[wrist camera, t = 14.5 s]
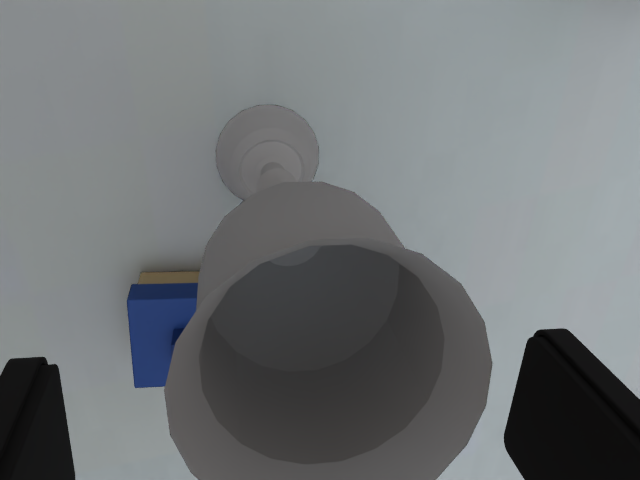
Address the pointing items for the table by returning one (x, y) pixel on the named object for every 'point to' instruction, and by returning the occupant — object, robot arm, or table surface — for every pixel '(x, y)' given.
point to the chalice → (318, 331)
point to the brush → (158, 321)
